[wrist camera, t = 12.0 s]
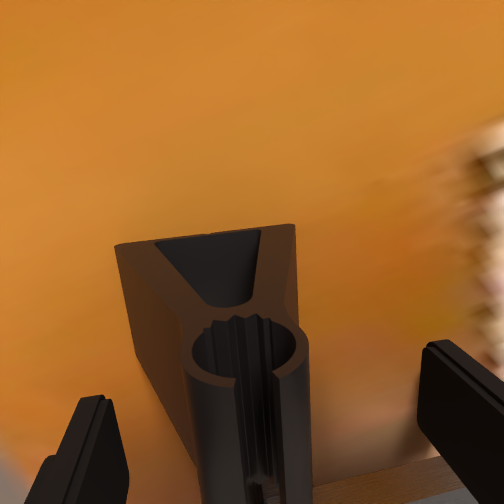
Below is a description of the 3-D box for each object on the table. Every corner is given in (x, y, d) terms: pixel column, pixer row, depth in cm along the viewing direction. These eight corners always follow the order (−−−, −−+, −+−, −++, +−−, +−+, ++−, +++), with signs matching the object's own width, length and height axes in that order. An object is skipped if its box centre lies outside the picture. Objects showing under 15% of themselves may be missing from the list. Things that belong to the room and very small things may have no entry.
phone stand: (135, 350, 19) (79, 639, 8) (115, 243, 18) (6, 427, 6) (296, 323, 21) (434, 538, 10) (293, 223, 19) (460, 344, 8)
